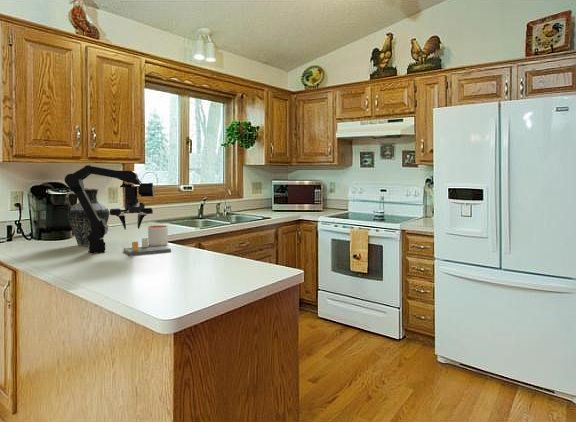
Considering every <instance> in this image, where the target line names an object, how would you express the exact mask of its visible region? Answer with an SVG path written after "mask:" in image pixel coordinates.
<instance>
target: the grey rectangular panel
mask: <svg viewBox="0 0 576 422" xmlns="http://www.w3.org/2000/svg"><path fill="white" fill-rule="evenodd" d="M171 251H172V248H170V247H168V246H167V245H165V246H164V245H156V246H150V245H148V247H142V246H138V250H137V251H133V250H132V247H127V248H126V247H124V248H123V252H124V253H125V254H127V256H130V257H132V256H142V255H153V254H163V253H171Z"/></svg>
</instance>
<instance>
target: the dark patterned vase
mask: <svg viewBox="0 0 576 422" xmlns="http://www.w3.org/2000/svg"><path fill="white" fill-rule="evenodd" d="M84 190H85V192H86V194H87V196H88V198H89V200H90V202H91V203H92V205H93V207H94V209H95V211H96V213H97V215H98V217H99V218H100V219H101V220H103V219H105V221H106V224H107V225H108V222H109V221H108V220H109V218H110V209H109V208H108V207H107V206H106V205H103V204H102V203H100V202H99V201H98V198H97V197H98V196H97V195H98V191H99V189H98V188H87V187H86V188H85V187H84ZM71 195H72V196H76V194H75V193H74V192H73V191H70V192H67V193H66V195H65V198H64V199H65V202H66V204H67V213H66V214H67V219H68V222H69V224H70V228H71V229H72V233H73V235H74V238H75V240H76V243H77V246H81V247H89V243H88V239H87V236H89V235H90V234H91V233H92V230H91V227H90V221H89V219H88V217H87V215H86V213H85V211H84V209H83V207H82V206H81V204H80V202H79V201H78V202H77V203H75V204H73V205H72V204H71V202H70V196H71Z"/></svg>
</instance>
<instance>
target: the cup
mask: <svg viewBox="0 0 576 422" xmlns="http://www.w3.org/2000/svg"><path fill="white" fill-rule="evenodd" d="M147 237H148V246H156V245H164V246H167V245H168V244H169V227H168V225H149V226H148V227H147Z"/></svg>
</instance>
